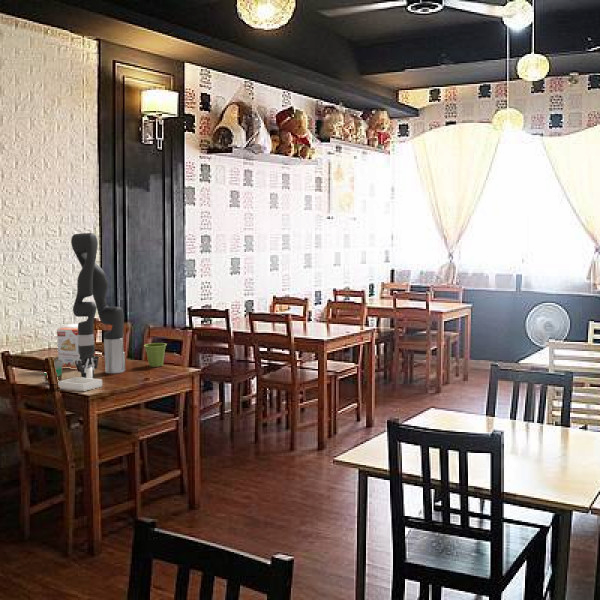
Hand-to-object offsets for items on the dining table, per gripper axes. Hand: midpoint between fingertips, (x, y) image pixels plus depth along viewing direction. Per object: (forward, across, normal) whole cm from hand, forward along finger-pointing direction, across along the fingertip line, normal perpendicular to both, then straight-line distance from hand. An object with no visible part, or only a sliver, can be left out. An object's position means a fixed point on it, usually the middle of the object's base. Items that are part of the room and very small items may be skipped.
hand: (87, 379), depth 368 cm
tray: (+1, +12, +6) cm, 13 cm away
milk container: (+2, -52, -56) cm, 76 cm away
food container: (+2, +6, -14) cm, 15 cm away
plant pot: (+2, -47, +4) cm, 47 cm away
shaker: (+1, 0, 0) cm, 1 cm away
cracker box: (+2, -25, -33) cm, 41 cm away
